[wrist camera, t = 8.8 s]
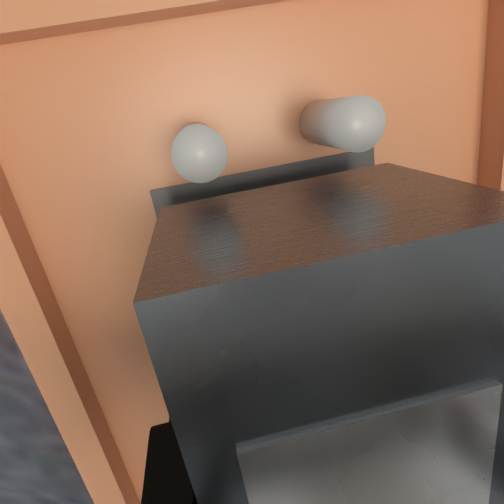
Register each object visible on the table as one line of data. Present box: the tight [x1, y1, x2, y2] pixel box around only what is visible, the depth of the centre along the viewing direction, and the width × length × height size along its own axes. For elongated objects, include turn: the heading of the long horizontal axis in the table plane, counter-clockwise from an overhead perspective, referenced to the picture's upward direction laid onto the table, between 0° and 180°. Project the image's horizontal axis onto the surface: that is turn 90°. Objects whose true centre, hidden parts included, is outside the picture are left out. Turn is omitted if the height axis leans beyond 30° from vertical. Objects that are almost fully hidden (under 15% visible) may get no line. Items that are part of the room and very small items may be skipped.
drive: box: [133, 163, 504, 504], centre depth 9 cm, size 11×6×5 cm, turn 9°
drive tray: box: [0, 0, 504, 504], centre depth 12 cm, size 22×16×4 cm
